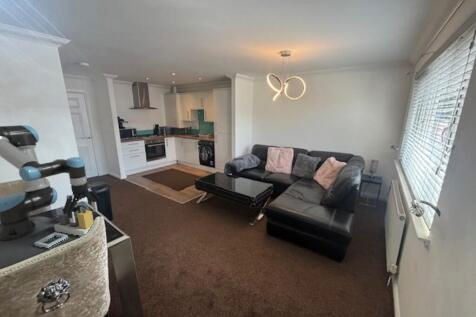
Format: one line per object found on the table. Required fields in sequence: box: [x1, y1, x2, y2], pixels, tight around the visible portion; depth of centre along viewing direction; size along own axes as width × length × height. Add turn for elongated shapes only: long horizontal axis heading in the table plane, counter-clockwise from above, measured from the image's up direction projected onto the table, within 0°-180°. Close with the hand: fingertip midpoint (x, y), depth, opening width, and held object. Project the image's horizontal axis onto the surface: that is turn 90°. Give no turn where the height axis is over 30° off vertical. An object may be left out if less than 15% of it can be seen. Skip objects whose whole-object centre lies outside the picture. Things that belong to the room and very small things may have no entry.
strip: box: [53, 212, 90, 237], centre depth 122 cm, size 24×10×12 cm, turn 75°
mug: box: [61, 202, 87, 213], centre depth 135 cm, size 12×9×10 cm
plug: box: [77, 208, 95, 230], centre depth 119 cm, size 5×5×14 cm
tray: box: [34, 231, 69, 249], centre depth 111 cm, size 10×10×2 cm
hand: (84, 216), depth 119 cm, fingers open, 13 cm apart
